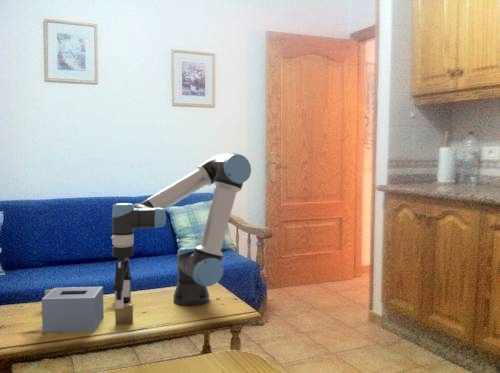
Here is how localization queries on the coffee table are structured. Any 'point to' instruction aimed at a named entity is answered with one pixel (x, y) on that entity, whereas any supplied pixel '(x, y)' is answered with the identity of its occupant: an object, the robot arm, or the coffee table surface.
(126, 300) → the supplement container
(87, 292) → the coin box
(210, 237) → the robot arm
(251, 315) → the coffee table surface
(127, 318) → the tan flat block
